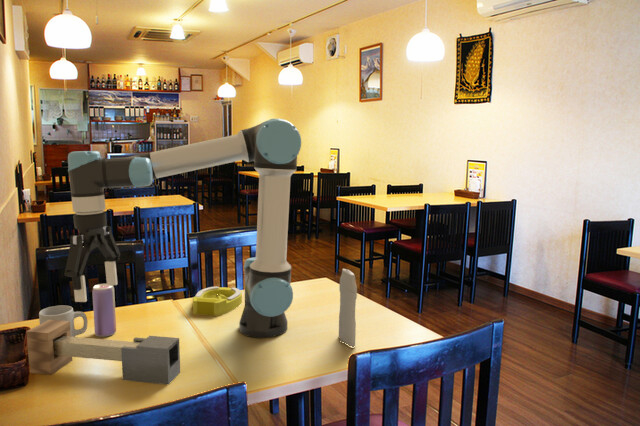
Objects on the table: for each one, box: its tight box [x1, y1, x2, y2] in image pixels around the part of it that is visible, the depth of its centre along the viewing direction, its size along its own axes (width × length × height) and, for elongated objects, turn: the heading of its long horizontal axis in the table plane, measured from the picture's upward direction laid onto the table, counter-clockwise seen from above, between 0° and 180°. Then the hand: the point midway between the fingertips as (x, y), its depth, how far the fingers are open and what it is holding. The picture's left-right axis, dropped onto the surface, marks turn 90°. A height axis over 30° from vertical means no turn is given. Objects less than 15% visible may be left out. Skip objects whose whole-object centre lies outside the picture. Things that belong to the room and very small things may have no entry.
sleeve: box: [121, 335, 181, 385], centre depth 119 cm, size 12×6×9 cm, turn 81°
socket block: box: [25, 320, 73, 376], centre depth 123 cm, size 6×8×11 cm
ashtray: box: [192, 286, 243, 317], centre depth 171 cm, size 16×21×5 cm
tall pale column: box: [338, 268, 358, 347], centre depth 140 cm, size 11×4×22 cm, turn 21°
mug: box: [38, 305, 88, 337], centre depth 135 cm, size 12×8×11 cm
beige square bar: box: [53, 336, 140, 362], centre depth 120 cm, size 28×4×4 cm, turn 81°
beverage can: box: [92, 283, 117, 338], centre depth 144 cm, size 6×6×15 cm
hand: (97, 292), depth 124 cm, fingers open, 13 cm apart
